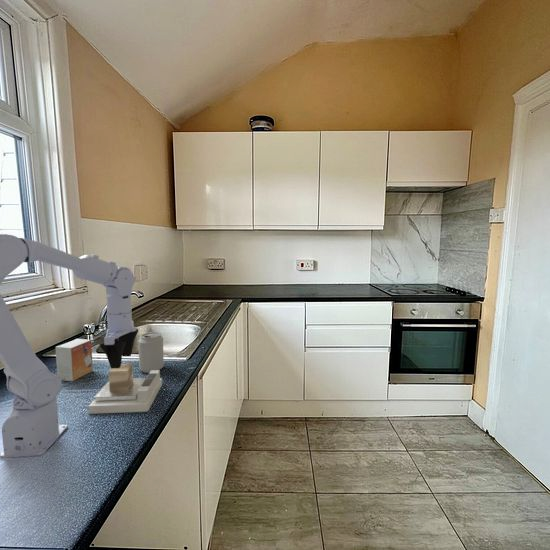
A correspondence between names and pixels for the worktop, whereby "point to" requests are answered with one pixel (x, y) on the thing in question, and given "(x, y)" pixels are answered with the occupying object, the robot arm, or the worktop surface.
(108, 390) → the pan
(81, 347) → the small box
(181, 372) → the worktop surface
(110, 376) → the beech block
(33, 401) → the robot arm
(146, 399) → the scale base
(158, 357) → the can
